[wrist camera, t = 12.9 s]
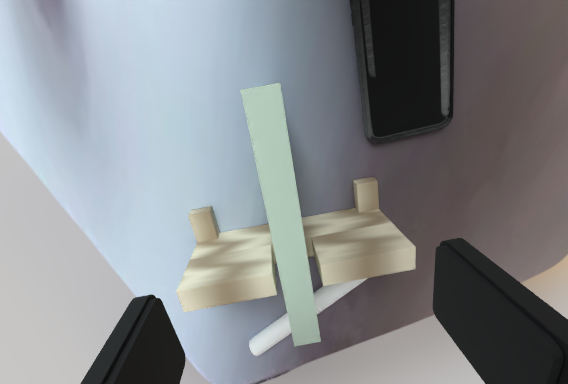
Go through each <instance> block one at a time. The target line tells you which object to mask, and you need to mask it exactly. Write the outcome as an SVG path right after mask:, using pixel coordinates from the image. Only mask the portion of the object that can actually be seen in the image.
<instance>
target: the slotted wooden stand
mask: <svg viewBox="0 0 568 384" xmlns="http://www.w3.org/2000/svg"><path fill="white" fill-rule="evenodd" d="M353 190H354V203H355V208H351V209H346V210H340V211H335V212H329V213H324V214H319V215H313V216H308V217H302V225H303V231H304V237H305V244H306V250H307V256H308V257H312V256H314V257H315V261H316V264H317V267H318V271H319V274H320V277H321V281H322V284H323V286H327V285H333V284H338V283H343V282H349V281H354V280H360V279H365V278H370V277H376V276H381V275H386V274H392V273H397V272H402V271H408V270H413V269H415V257H416V247H415V246H414V245H413V244H412V243H411V242H410V241H409V240H408V239H407V238H406V237H405V236H404V235H403V234H402V233H401V231H400V230H399V229H398V228H397V227H396V226H395V225H394V224H393V223H392V222H391V221H390V220H389V219H388V218H387V217H386V216H385V215H384V214H383V213H382V212H381V211H380V210H379V200H378V180H376V179H375V178H374V177H368V178H362V179H357V180H353ZM188 216H189V219H190V222H191V225H192V228H193V231H194V234H195V237H196V240H197V245H196V247H195V249H194V252H193V254H192V256H191V259H190V261H189V263H188V266H187V268H186V270H185V273H184V275H183V277H182V280H181V282H180V284H179V286H178V289H177V291H176V292H177V295H178V297H179V300H180V302H181V305H182V307H183V310H184V312H188V311H194V310H199V309H204V308H210V307H215V306H220V305H226V304H231V303H236V302H242V301H247V300H252V299H258V298H263V297H269V296H274V295H277V286H276V271H275V263H277V261H276V256H275V252H274V247H273V242H272V237H271V233H270V228H269V224H265V225H259V226H254V227H248V228H243V229H238V230H232V231H227V232H221V233H219V229H218V226H217V223H216V219H215V216H214V213H213V209H212V206H211V207H205V208H200V209H195V210H191V212H190V213H189V215H188Z"/></svg>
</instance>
